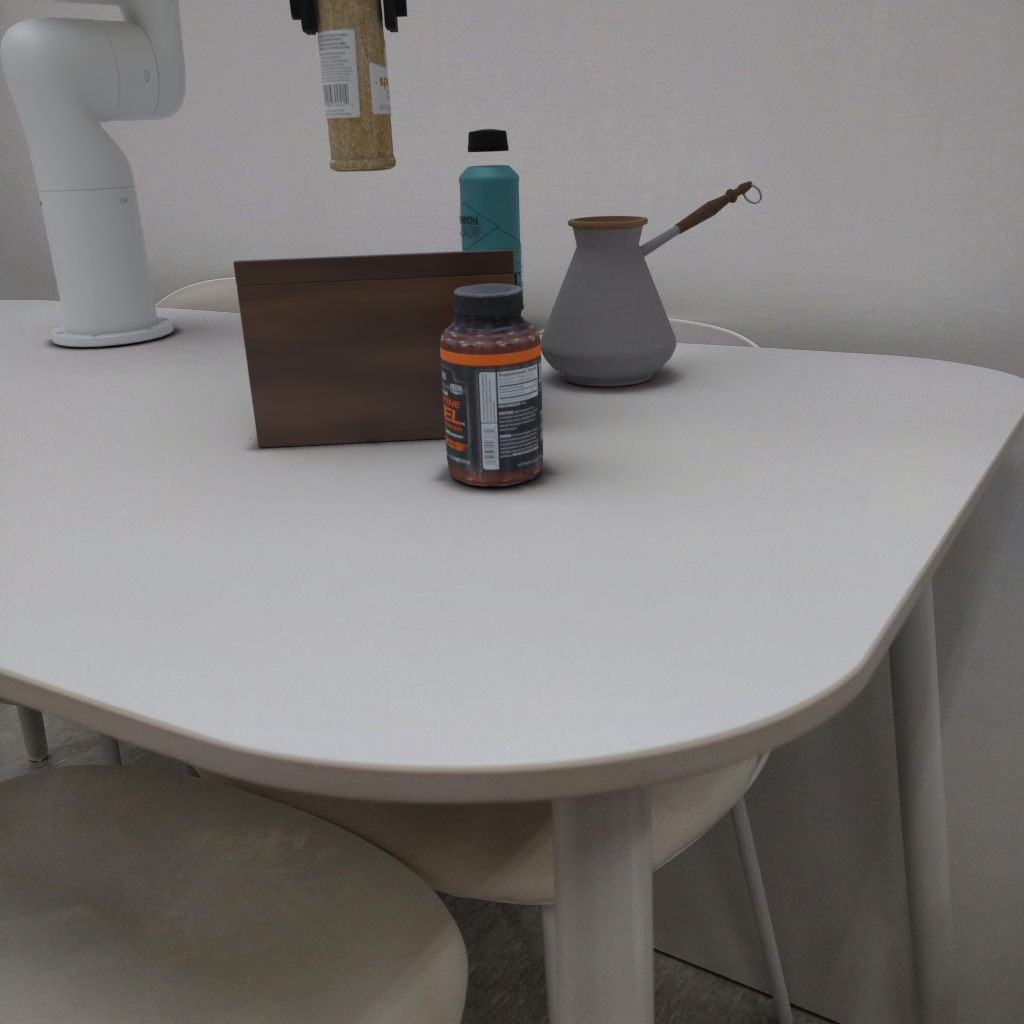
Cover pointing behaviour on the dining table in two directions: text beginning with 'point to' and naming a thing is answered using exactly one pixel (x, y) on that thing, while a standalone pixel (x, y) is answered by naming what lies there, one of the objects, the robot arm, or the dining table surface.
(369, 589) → the dining table surface
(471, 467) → the supplement bottle
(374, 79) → the spice jar
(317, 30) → the robot arm
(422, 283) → the shelf
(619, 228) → the coffee pot
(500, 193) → the beverage bottle
